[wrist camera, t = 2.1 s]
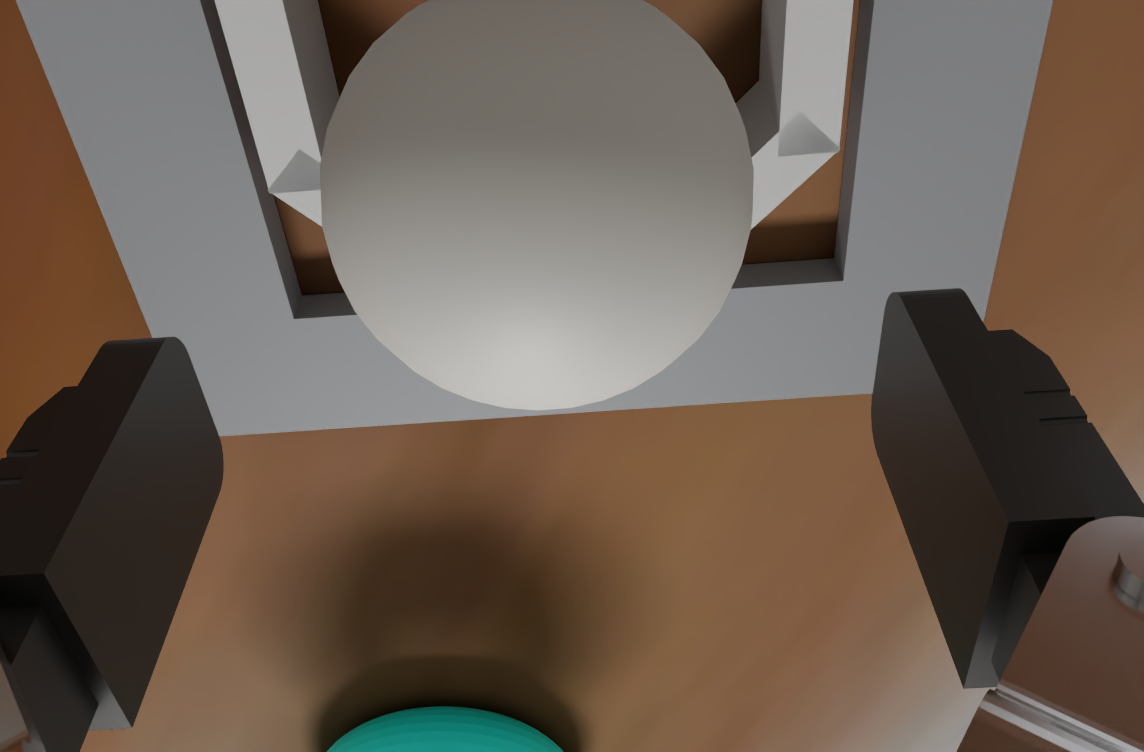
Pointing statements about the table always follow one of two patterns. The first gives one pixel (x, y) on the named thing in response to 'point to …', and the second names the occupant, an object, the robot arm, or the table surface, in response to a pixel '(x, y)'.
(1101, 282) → the table surface
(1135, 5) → the table surface
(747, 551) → the table surface
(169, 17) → the bulb socket stand
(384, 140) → the lightbulb
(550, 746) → the donuts
